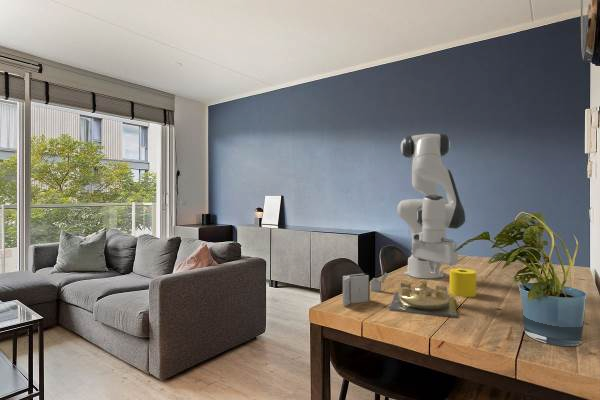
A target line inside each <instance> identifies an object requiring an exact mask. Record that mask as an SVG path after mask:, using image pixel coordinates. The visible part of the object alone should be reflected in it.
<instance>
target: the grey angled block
mask: <svg viewBox="0 0 600 400" xmlns="http://www.w3.org/2000/svg"><path fill="white" fill-rule="evenodd" d="M388 275H389V274H388V273H387V272H384V274H383V276H382V278H381V279H380V280H379V278H377V277H373V278H372V279H370V291H371V292H382V284H384V283H385V281H386V279H387V277H388Z"/></svg>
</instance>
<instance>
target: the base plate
mask: <svg viewBox="0 0 600 400" xmlns="http://www.w3.org/2000/svg"><path fill="white" fill-rule="evenodd" d="M389 311H392V312H393V311H395V312H404V313H410V314H411V313H414V314H420V315H429V316H430V315H431V316H438V317H440V316H441V317H446V318H447V317H448V318H456V319H457V318H458V313H457V307H456V303H455V298H454V296H449V306H448V307H447V308H444V309H437V310H427V309H418V308H413V307H409V306H406V305H403V304H401V303H400V302H399V301H398V291H395V292H394V296H393V298H392V301H391V303H390V306H389Z"/></svg>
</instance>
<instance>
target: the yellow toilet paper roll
mask: <svg viewBox="0 0 600 400" xmlns="http://www.w3.org/2000/svg"><path fill="white" fill-rule="evenodd" d="M449 294H451V295H453V296H456V297H461V296H463V297H464V298H473V297H476V296H477V271H475V270H473V269H468V268H459V267H458V268H450V269H449ZM463 297H462V298H463Z"/></svg>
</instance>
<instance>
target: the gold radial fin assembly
mask: <svg viewBox="0 0 600 400" xmlns="http://www.w3.org/2000/svg"><path fill="white" fill-rule="evenodd" d="M397 292H398V301H399V302H400V303H401V304H403V305H406V306H409V307H413V308H418V309H427V310H437V309H444V308H447V307H448V306H449V297H450V295H449V291H448V286H447V285H443V284H442V285H440V284H439V285H435V288H432V287H428V281H422V280H421V281H420V284H419V286H415V287H412V283H411V282H406V281H403V282H400V287H399V288H398V291H397Z"/></svg>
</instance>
